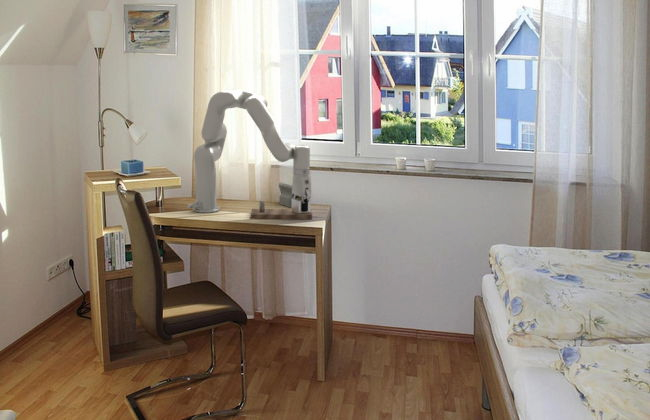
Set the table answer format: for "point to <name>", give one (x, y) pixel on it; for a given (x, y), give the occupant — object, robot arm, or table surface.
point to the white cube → (299, 206)
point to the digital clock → (286, 194)
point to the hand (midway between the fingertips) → (300, 209)
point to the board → (278, 213)
